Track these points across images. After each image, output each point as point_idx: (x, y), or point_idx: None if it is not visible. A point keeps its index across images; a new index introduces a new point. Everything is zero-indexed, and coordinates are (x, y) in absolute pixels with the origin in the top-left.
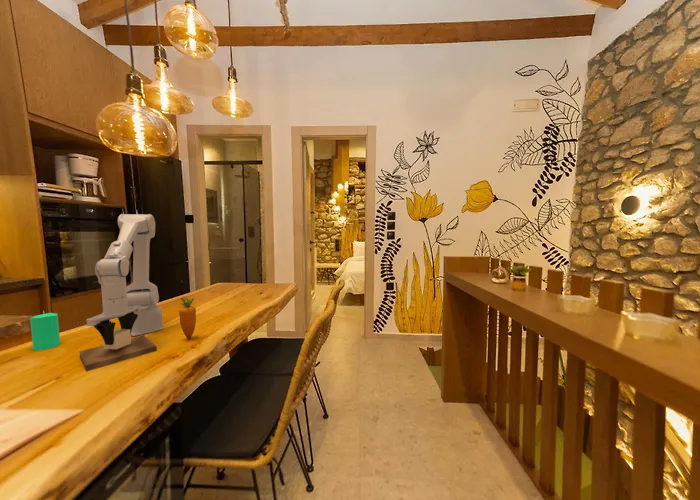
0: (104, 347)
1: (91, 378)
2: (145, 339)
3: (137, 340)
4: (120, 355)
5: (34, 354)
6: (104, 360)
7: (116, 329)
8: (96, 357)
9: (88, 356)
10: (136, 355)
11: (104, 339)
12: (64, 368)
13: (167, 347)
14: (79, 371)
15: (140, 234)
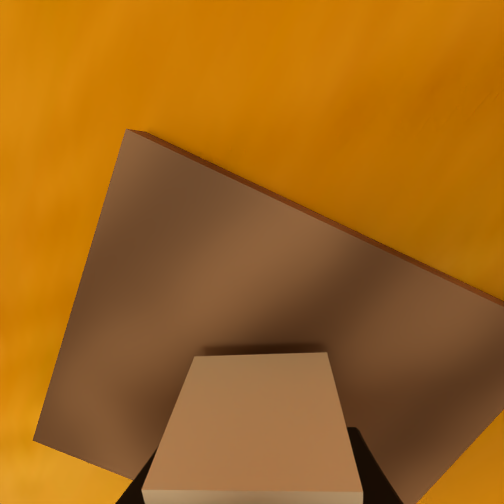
0: (192, 367)
1: (36, 494)
2: (460, 429)
3: (433, 390)
4: None
5: None
6: (113, 470)
7: (324, 501)
8: (115, 394)
9: (102, 327)
10: None
11: (143, 480)
12: (10, 260)
13: None
14: (38, 383)
15: None
